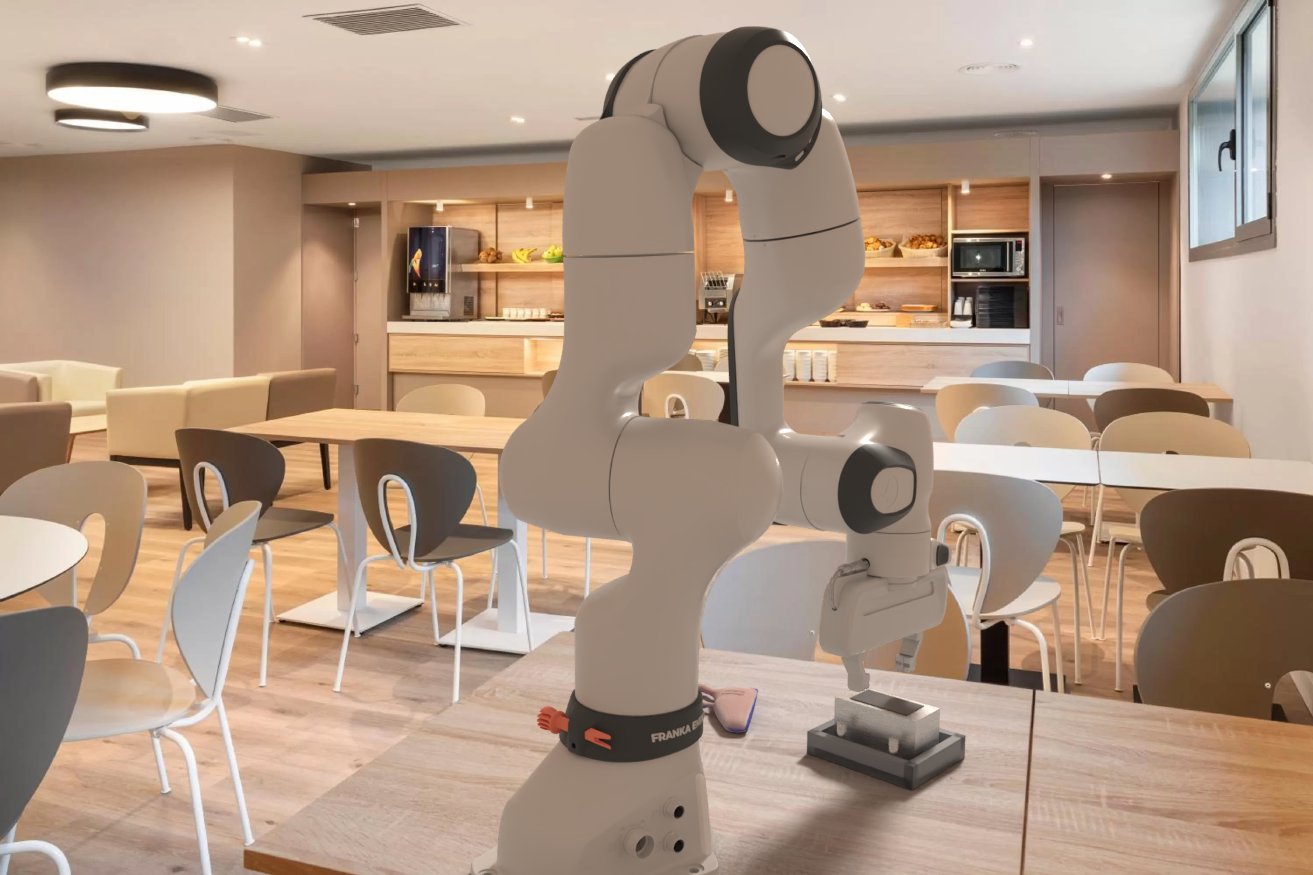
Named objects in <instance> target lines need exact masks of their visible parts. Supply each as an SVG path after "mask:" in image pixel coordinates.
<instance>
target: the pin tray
mask: <svg viewBox="0 0 1313 875" xmlns="http://www.w3.org/2000/svg"><path fill="white" fill-rule="evenodd" d="M846 724H847V722H846V721H844V720H839V721H837V737H836V736H834V718H832V719H829V720H828V721H825V722H824V723H822V724H820V725H817V726H816V727H813V728H811V729H809V730H807V731H806V733H807V734H806V754H808V755H811V756H814V757H816V758H818V759H822V760H825V761H828V762H830V763H834V764H837V765H839V766H842V767H845V768H848V769H850V770H853V771H856V772H858V773H862V774H865V775H867V776H869V777H873V778H876V779H878V780H880V781H881V780H882V781H885V782H887V783H890V784H893V785H896V786H899V787H901V788H904V789H907V790H909V791H914V790H915V789H917V788H919V787H920V786H921V785H923V784H925V783H927V782H928V781H930V780H931V779H933V778H934V777H936V776H938V775H939V774H941V773H943V772H944V771H946V770H947V769H949V768H951V767H952V766H954V765H956V764H957V763H958V762H960V761H962V760H963V759H964V758H966V755H965V753H966V735H964V734H961V733H957V732H955V731H951V730H949V729H945V728H943V727H939V744H937V745H936V746H934V747H932V748H931V749H929V750H927V751H926V752H924V753H922V754H920V755H919V756H917V757H915V758H914V759H912V760H910V761H908V760H905V759H902V758H899V757H898V744H899V739H898V738H897V737H889V749H888V754H887V753H884V752H881V751H878V750H875V749H872V748H869V747H866V746H863V745H860V744H857V743H854V742H851V741H848V740H846Z"/></svg>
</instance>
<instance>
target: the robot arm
mask: <svg viewBox="0 0 1313 875" xmlns="http://www.w3.org/2000/svg"><path fill="white" fill-rule="evenodd" d="M837 124H838V123H837V122H836V120H835V119H834V118H833V116H832V115H831V114H830V113H829V112H828V111H827V110H825V109H824V108H823V100H822V91H821V84H820V81H819V77H818V74H817V70H816V68H815V66H814V64H813V61H812V59H811V58H810V55H809V54H808V53H807V50H806V49H805V48H804V46H803V45H802V44H801V43H800V42H799V40H798V39H797V38H796V37H794V36H793V35H792V34H790V33H789V32H787V31H784V30H781V29H778V28H774V27H768V26H758V25H757V26H755V25H753V26H752V25H751V26H741V27H736V28H734V29H732V30H730V31H724V32H715V33H710V34H709V33H708V34H696V35H695V34H694V35H690V36H686V37H684V38H680V39H677V40H675V41H672V42H670V43H667V44H665V45H663V46H661V47H659V48H655V49H649V50H645V51H644V52H641V53H639V54H638V55H636V56H634V57H633V58H632V59H630V60H629V61H628V62H626V63H625V64H624V65H623V66H622V67H621V68H620V69H619V70H618V71H617V73H616V74H615V76H614V77H613V78H612V80H611V82H610V84H609V86H608V88H607V91H606V94H605V97H604V102H603V108H602V113H601V115H600V118H599V120H596V121H595V122H593V123H591V124H590V125H587V126H586V127H584V128H583V129H582V130H580V132H579V133H578V134H577V135H576V137H575V138H574V140H573V142H572V144H571V146H570V148H569V152H568V160H567V165H566V172H565V182H564V190H563V203H562V224H561V225H562V229H561V230H562V232H561V233H562V236H561V238H562V255H563V256H564V257H562V263H563V265H562V266H563V300H564V301H563V302H564V303H563V304H564V305H563V306H564V308H563V310H564V312H563V313H564V314H563V316H564V317H563V320H564V322H563V343H562V351H561V357H560V361H559V365H558V368H557V372H556V375H555V377H554V380H553V382H552V385H551V387H550V388H549V390H548V392H547V394H546V396H545V398H544V399H543V401H542V402H541V404H540V405H539V406H538V408H536V410H535V411H534V412H533V413H532V414H531V415H530V416H529V417H528V418H527V419H526V420H524V421H523V422H522V423H521V424H519V425H518V426H517V427H516V429H515V430H514V431H512V433H511V435H510V436H509V437H508V439H507V441H506V443H505V444H504V446H503V450H502V452H501V456H500V458H499V459H500V460H499V464H498V483H499V489H500V493H501V495H502V498H503V500H504V503H505V505H506V507H507V508H508V510H509V511H510V513H511V514H512V516H513V517H514V518H516V519H517V520H519V521H520V522H522V523H524V524H525V523H526V524H529V525H530V526H534V527H537V528H540V529H541V530H545V531H549V532H552V533H555V534H558V535H561V536H567V537H569V536H570V537H578V538H588V539H599V540H611V541H618V542H619V541H620V542H621V541H622V542H627V543H629V544H631V545H632V558H631V560H632V561H631V565H630V569H629V572H628V573H627V574H624V575H622V576H621V575H620V576H619V577H617V578H615V579H612V580H610V581H608V582H606V583H605V584H602V585H600V586H598V587H597V588H595V589H594V590H593V591H592V592H589V594H588V595H586V597H585V598H584V599H583V601H582V603H581V604H580V606H579V608H578V610H577V612H576V615H575V617H574V624H573V626H574V633H573V634H574V689H573V690H572V692H571V694H570V696H569V700H568V703H567V705H566V710H565V712H564V711H562V710H557V709H556V708H554V707H552V706H549V705H546V706H544V707H542V708H541V709H540V710H539V713H538V714H537V716H536V717H537V719H536V722H537V727H539V728H540V729H541V730H544V731H549V732H550V733H551V734H554V735H558V738H559V740H558V742H557V743H556V744H555V745H554V747H553V748H551V750H550V751H549V752H548V754H547V755H546V756H545V757H544V758H543V760H542V761H540V763H539V764H538V765H537V766H536V768H535V769H534V770H533V771H532V773H530V775H529V776H528V777H527V778H526V779H525V781H524V782H523V783H522V784H521V785H520V786H519V787H518V789H517V790H516V791H515V792H514V793H513V794H512V795H511V797H509V799H508V800H507V801H506V802H505V805H504V807H503V809H502V813H501V817H500V822H499V827H498V829H499V830H498V835H497V836H498V837H497V844H496V845H494V846H493V847H491V848H490V849H487V850H486V851H485V852H484V853H482V854H480V855H479V856H477V857H476V858H474V859H473V860H472V862H471V864H470V872H469V873H470V875H720V868H719V867H720V865H719V862H718V859H717V856H716V855H715V850H716V838H715V835H714V834H715V833H714V831H713V828H712V824H711V821H710V811H709V810H710V809H709V799H708V798H709V797H708V790H707V781H706V776H705V771H704V767H703V761H702V755H701V747H700V739H701V737H702V735H703V733H704V720H705V710H704V708H703V700H704V699H703V698H704V697H703V692H701V691H700V689H699V688H698V682H699V673H700V672H699V670H700V669H699V664H700V663H699V662H700V646H701V633H702V624H703V618H704V617H703V616H704V613H705V612H704V611H705V607H706V604H707V601H708V598H709V596H710V593H711V591H712V588H713V586H714V584H715V583H716V581H717V580H718V579H719V576H720V575H721V573H722V572H723V570H724V569H725V568H726V567H727V566H728V565H729V564H730V562H731V561H733V559H735V557H736V556H737V555H739V554H741V552H742V551H744V550H745V549H746V548H748V547H749V546H751V545H753V544H754V543H756V542H757V541H758V540H759V539H761V537H763V535H764V534H765V533H766V532H767V531H768V530H769V528H771V526H791V527H798V528H804V529H810V530H815V531H820V532H821V531H822V532H832V533H838V534H845V554H844V555H845V559H844V563H843V564H839V565H838V566H837V567H836V571H835V572H834V574H833V576H832V577H831V578H829V582H828V583H827V585H826V587H825V589H824V592H823V597H822V602H821V610H820V617H819V626H818V644H819V646H820V649H821V650H822V651H823V653H827V654H830V655H833V656H838V657H841V658H840V659H841V661H842V664H843V665H844V668H845V671H846V673H847V689H849V690H852V691H855V692H862V691H864V690H867V689H868V688H870V680H871V674H870V673H867V672H866V669H865V666H864V662H865V661H866V659H867V652H869V651H871V650H874V649H876V648H877V649H878V648H880V647H882V646H884V645H885V646H886V645H888V644H890V643H893V642H896V641H899V640H901V639H902V640H901V643H900V646H899V653H897V654H895V658H894V661H895V664H894V668H895V671H897V672H901V673H903V674H907V673H910V672H913V671H915V670H916V666H917V656H918V654H919V650H920V648H921V645H922V643H923V641H924V631H927V630H929V629H932V628H935V627H938V626H939V625H941V623H942V622H943V619H944V617H945V614H946V611H947V601H948V590H949V589H948V588H949V572H948V568H947V565H949V564H950V563H952V557H953V549H952V546H951V545H950V544H949V543H945V542H942V541H940V540H938V539H936V538H934V537H932V521H931V518H930V513H929V502H930V498H931V495H932V492H933V491H934V490H933V489H934V470H935V469H934V466H935V464H934V463H935V461H934V455H935V454H934V441H933V440H934V439H933V438H934V437H933V431H932V426H931V421H930V416H929V415H928V413H927V412H925V411H924V410H923V409H922V408H920V407H917V406H914V405H910V404H907V403H898V402H897V403H896V402H893V401H882V400H879V401H878V400H877V401H876V400H874V401H873V400H872V401H871V400H869V401H865V402H862V403H860V404H859V405H858V406H857V409H856V412H855V415H854V416H855V417H854V421H853V423H852V424H850V426H849V427H847V428H845V429H844V430H843V431H841V432H838V433H837V434H836V436H835V435H830V436H829V435H817V434H807V433H798V432H797V431H795V430H794V429H792V428H791V427H790V426H789V425H788V423H787V422H786V419H785V397H784V395H785V392H784V389H785V388H784V353H785V350H786V346H787V344H788V342H789V341H790V339H791V338H792V336H794V335H795V334H796V333H797V332H799V331H801V330H803V329H805V328H807V327H809V326H811V325H813V324H816V323H817V322H819V321H821V320H823V319H826V318H827V317H828V316H831V315H832V314H834V313H835V312H837V311H838V310H839V309H841V307H843V306H844V305H845V304H846V303H847V302H848V301H849V300H850V299H851V297H852V296H853V295H854V293H855V292H856V290H857V289H858V288H859V285H860V284H861V281H862V279H863V277H864V274H865V266H866V244H865V237H864V236H865V235H864V229H863V222H862V216H861V210H860V203H859V197H858V193H857V192H858V191H857V188H856V182H855V179H854V175H853V172H852V166H851V162H850V160H849V156H848V153H847V150H846V147H845V143H844V140H843V138H842V135H841V132H840V129H839V126H838V125H837ZM715 171H716V172H717V171H721V172H722V173H723V174H724V175H725V177H726V178H727V180H728V181H729V182H730V184H731V186H732V188H733V190H734V192H735V194H736V200H737V209H738V210H737V211H738V218H739V219H738V220H739V226H740V231H741V232H740V233H741V237H742V244H743V246H742V247H743V252H744V253H743V254H744V266H743V276H742V281H741V285H740V287H739V288H738V289H737V290H736V291H735V292H734V294H733V295H732V297H731V300H730V303H729V308H728V315H727V331H726V332H727V334H726V335H727V363H728V365H727V366H728V384H729V386H728V387H729V406H730V408H729V409H730V424H728V423H725V422H724V423H723V422H719V421H715V420H712V419H697V418H696V419H695V418H678V417H677V418H675V417H674V418H673V417H653V416H652V417H651V416H642V415H640V413H639V399H640V393H641V391H642V388H643V385H644V384H645V383H646V381H649V380H651V379H653V378H655V377H656V376H658V375H660V374H662V373H664V372H666V371H667V370H669V369H671V368H672V367H674V366H675V365H677V364H678V363H680V362H681V361H682V360H683V359H684V358H685V357H686V355H688V353H689V351H690V349H691V348H692V346H693V344H694V342H695V340H696V335H697V332H698V331H697V295H696V294H697V293H696V292H697V291H696V289H697V287H696V286H697V285H696V253H695V249H696V248H695V230H694V218H693V209H692V206H693V200H694V199H693V198H694V193H695V190H696V187H697V185H698V182H699V179H700V178H701V175H702V174H703V172H715Z"/></svg>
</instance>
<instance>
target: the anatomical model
mask: <svg viewBox="0 0 1313 875" xmlns="http://www.w3.org/2000/svg"><path fill="white" fill-rule="evenodd" d="M698 688H699V689H700V691H701V692H702V694H706V695H709V696H710V697H712V698H713V702H709V701H707V700H705V699H703V709H706V708H713V712H714V715H715V716H716V718H717V720H718V721H719V722H720V724H721V725H722V726H723V728H724V729H725V730H726V731H728V732H731V733H744V732H746V731H748V730H749V728H750V725H751V722H752V719H753V714H754V711H755V706H756V702H757V699H758V693H759V689H758V688H752V687H742V686H727V687H722V688H715V687H713V686H711V685H710V684H707V683H703V682H700V681H698Z"/></svg>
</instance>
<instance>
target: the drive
mask: <svg viewBox="0 0 1313 875" xmlns="http://www.w3.org/2000/svg"><path fill="white" fill-rule="evenodd" d="M940 713H941V708H940V707H936V706H934V705H930V704H927V703H922V702H919V701H916V700H911V699H909V698H906V697H901V696H899V695H894V694H892V693H891V694H890V693H887V692H884V691H881V690H878V689H874V688H870V687H869V688H868V689H867V690H864V691H862V692H855V691H852V690H850V689H849V690H846V691H845V692H844V691H843V693H842V692H841V693H840V694H838V695H836V696H834V715H833V716H834V718H833V719H834V736H836V737H837V721H839V720H844V721H846V722H847V724H846V740H848V741H851V742H854V743H857V744H860V745H863V746H866V747H869V748H872V749H875V750H878V751H881V752H884V753H887V754H888V749H889V737H897V738H898V739H899V744H898V757H899V758H902V759H905V760H908V761H910V760H912V759H914V758H915V757H917V756H919V755H920V754H922V753H924V752H926V751H927V750H929V749H931V748H932V747H934V746H936V745H937V744H939V728H940V723H941V722H940V721H941V720H940V719H941V718H940V717H941V716H940Z"/></svg>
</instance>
